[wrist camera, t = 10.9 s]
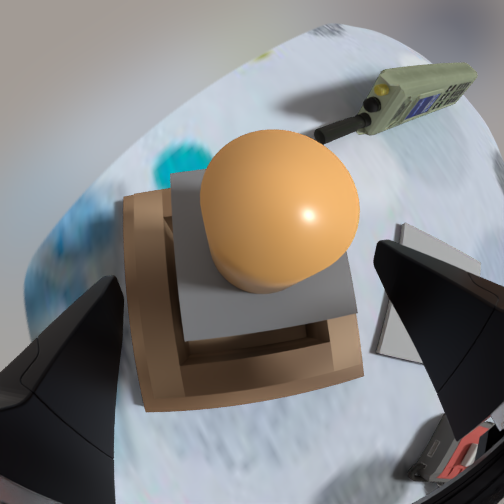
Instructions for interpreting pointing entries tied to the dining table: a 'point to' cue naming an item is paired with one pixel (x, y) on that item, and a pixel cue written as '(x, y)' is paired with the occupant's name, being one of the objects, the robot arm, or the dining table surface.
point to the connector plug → (263, 237)
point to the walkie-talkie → (447, 454)
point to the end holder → (216, 349)
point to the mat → (393, 331)
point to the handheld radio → (403, 98)
